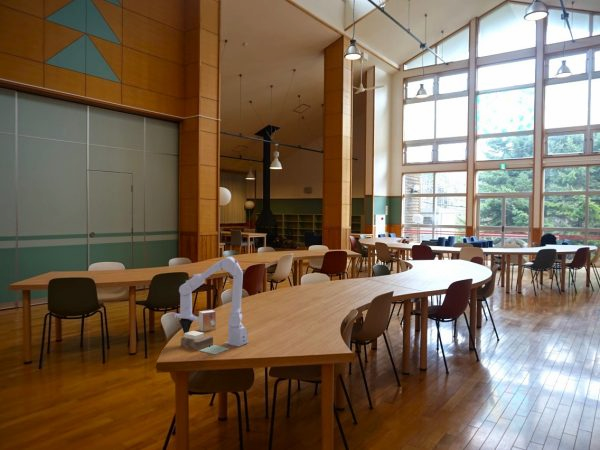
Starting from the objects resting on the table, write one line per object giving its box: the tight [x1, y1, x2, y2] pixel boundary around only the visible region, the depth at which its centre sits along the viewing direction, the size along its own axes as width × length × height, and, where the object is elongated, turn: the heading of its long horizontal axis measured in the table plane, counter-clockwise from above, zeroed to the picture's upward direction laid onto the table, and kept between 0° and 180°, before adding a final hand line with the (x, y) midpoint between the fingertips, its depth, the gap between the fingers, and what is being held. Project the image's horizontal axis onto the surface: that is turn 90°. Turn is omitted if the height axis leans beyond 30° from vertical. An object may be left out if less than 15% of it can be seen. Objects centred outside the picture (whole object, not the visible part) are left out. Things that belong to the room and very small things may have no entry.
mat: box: [199, 344, 230, 355], centre depth 206 cm, size 10×10×1 cm
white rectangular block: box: [183, 330, 205, 340], centre depth 213 cm, size 8×6×2 cm
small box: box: [198, 309, 217, 333], centre depth 241 cm, size 8×6×10 cm
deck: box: [180, 334, 214, 351], centre depth 212 cm, size 12×10×4 cm
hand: (186, 333), depth 216 cm, fingers closed
